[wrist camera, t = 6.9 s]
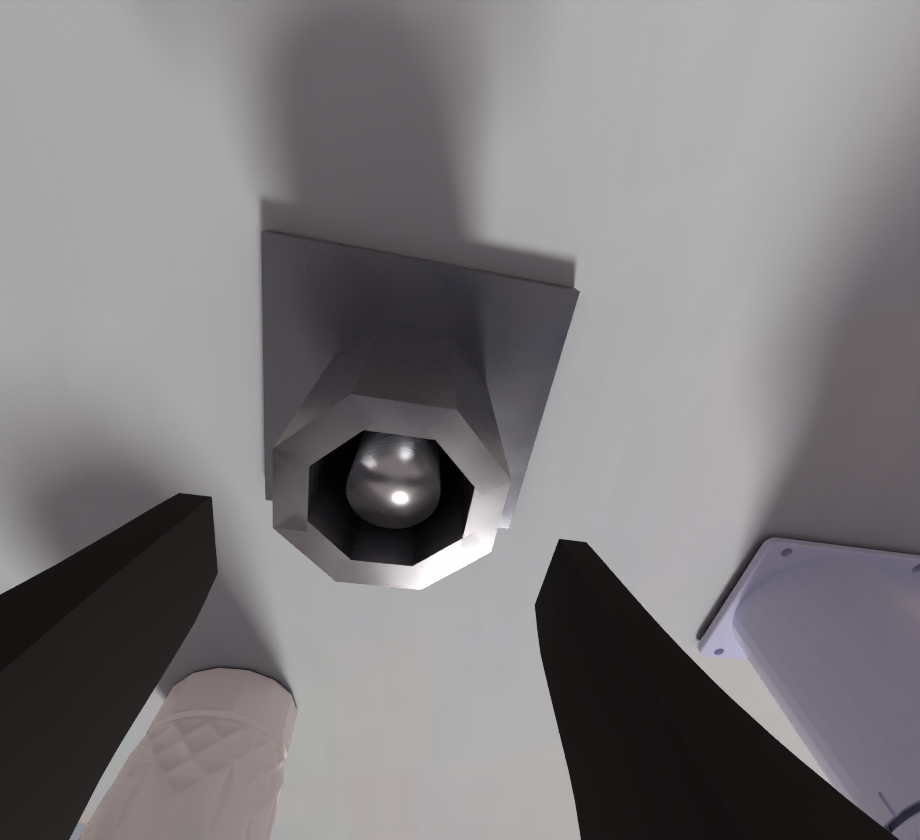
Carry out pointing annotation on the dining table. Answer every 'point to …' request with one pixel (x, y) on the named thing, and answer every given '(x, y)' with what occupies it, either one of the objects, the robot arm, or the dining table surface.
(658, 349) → the dining table surface
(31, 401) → the dining table surface
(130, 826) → the white cup
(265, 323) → the post
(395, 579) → the tube
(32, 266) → the dining table surface
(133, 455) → the dining table surface
